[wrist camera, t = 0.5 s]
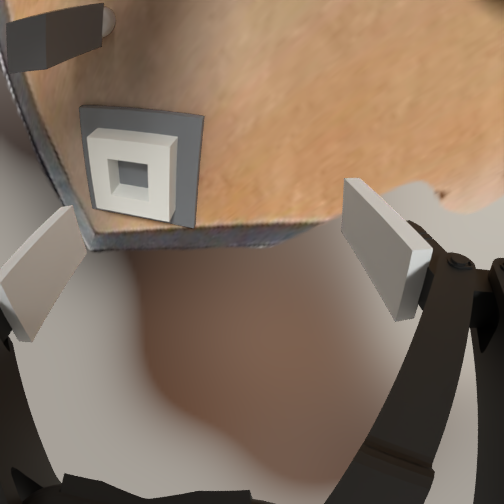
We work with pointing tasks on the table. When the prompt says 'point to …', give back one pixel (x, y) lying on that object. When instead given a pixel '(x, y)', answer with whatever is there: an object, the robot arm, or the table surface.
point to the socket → (143, 161)
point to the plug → (56, 36)
